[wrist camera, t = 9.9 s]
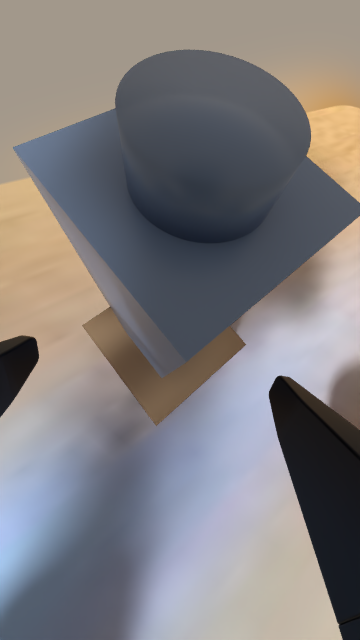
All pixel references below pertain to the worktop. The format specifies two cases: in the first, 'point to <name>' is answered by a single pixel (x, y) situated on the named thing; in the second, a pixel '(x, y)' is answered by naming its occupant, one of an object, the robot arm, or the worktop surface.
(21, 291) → the worktop surface
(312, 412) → the robot arm
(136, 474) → the worktop surface
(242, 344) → the walnut base
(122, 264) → the blue-grey tall block
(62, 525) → the worktop surface
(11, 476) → the worktop surface
